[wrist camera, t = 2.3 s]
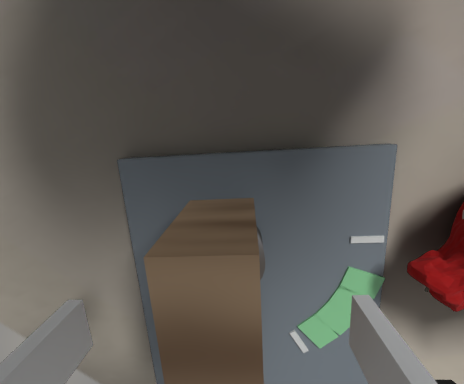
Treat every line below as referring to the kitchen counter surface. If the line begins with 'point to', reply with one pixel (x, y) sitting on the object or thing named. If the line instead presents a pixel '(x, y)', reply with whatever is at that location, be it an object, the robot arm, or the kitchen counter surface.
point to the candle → (444, 267)
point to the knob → (209, 294)
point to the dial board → (283, 241)
